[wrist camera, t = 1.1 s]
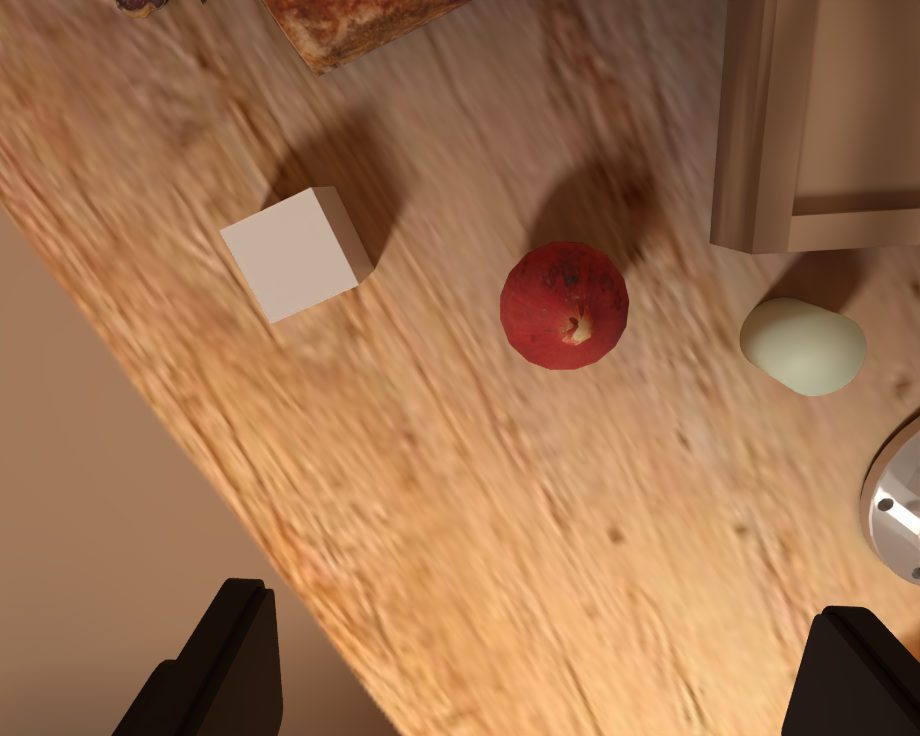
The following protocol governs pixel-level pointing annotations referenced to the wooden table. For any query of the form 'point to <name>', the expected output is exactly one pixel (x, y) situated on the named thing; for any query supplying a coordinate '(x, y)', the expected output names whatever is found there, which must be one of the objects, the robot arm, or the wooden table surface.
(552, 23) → the wooden table surface
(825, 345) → the sage painted capsule
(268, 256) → the grey ceramic cube
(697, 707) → the wooden table surface
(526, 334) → the red fruit
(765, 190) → the shallow wooden tray
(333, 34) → the cured meat
